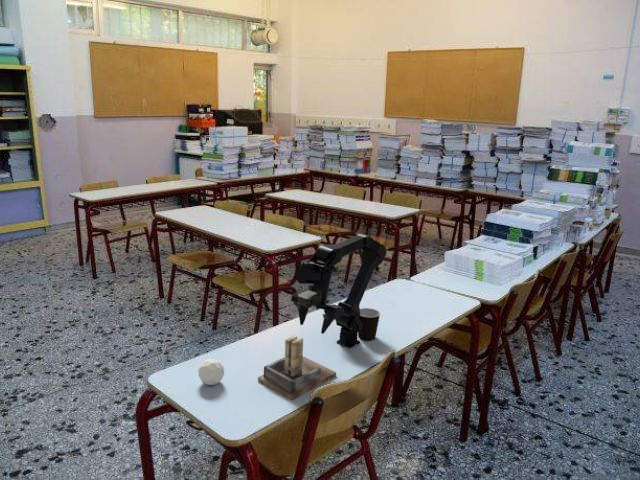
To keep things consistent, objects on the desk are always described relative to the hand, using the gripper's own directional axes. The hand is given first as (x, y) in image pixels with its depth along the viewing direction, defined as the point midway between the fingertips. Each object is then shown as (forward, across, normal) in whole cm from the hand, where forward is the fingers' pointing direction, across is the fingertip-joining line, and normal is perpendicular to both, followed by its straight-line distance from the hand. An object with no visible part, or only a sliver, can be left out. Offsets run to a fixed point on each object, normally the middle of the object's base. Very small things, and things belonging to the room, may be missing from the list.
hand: (311, 329), depth 171 cm
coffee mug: (+4, +3, +31) cm, 32 cm away
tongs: (+13, +5, -11) cm, 18 cm away
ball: (+19, -12, -28) cm, 36 cm away
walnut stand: (+14, +5, -9) cm, 17 cm away
